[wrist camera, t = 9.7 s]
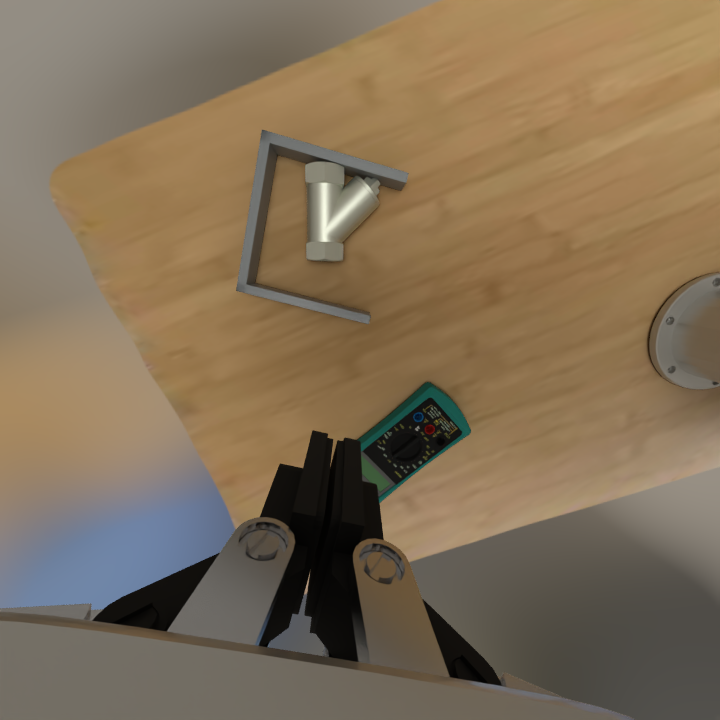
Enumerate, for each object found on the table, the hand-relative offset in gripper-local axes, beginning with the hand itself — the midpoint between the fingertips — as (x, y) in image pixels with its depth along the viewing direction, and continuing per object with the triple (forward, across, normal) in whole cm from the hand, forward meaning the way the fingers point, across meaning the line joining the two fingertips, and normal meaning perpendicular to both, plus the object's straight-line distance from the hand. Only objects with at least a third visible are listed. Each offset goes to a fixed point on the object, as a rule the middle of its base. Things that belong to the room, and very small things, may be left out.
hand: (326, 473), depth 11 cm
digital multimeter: (+26, -9, +10) cm, 29 cm away
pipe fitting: (+26, +3, -11) cm, 28 cm away
